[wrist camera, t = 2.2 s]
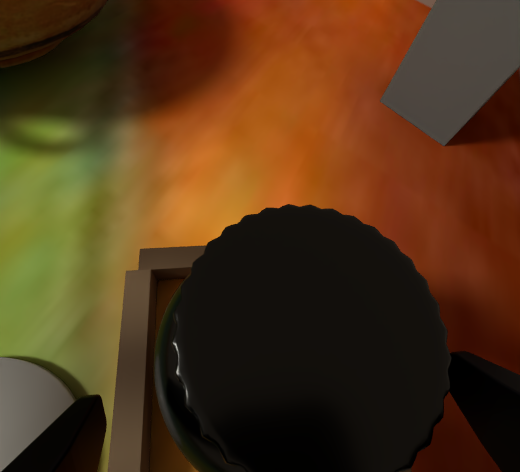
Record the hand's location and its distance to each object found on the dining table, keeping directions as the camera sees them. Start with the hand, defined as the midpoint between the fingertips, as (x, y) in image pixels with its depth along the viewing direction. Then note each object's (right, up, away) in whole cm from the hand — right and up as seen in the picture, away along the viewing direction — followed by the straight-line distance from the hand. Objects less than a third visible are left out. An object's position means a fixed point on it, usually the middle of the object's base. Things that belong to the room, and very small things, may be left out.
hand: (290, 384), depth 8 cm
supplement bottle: (-1, -3, +8) cm, 9 cm away
